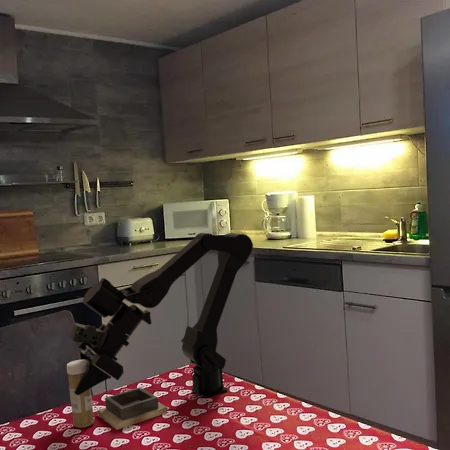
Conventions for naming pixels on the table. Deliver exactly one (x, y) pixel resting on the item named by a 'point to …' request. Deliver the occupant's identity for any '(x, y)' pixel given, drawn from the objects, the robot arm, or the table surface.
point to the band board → (131, 408)
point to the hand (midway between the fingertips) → (73, 390)
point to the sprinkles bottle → (79, 402)
